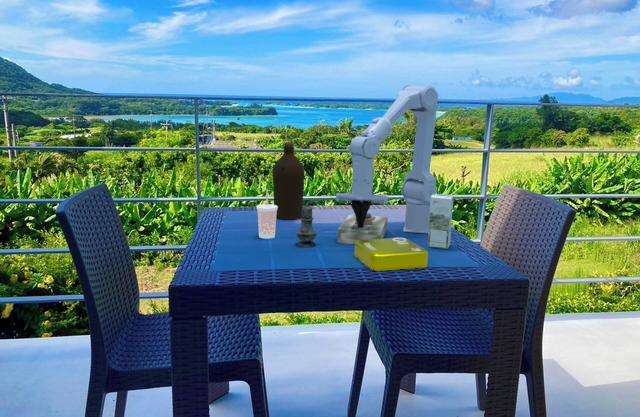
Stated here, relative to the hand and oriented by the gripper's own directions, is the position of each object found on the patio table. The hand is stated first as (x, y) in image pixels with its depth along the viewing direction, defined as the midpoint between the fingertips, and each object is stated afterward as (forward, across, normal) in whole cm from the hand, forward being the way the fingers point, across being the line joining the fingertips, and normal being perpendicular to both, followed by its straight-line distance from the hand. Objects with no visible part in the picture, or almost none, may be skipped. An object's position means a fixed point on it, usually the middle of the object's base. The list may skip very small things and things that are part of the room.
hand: (360, 227), depth 160 cm
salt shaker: (+4, -14, -8) cm, 17 cm away
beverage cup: (+4, -27, -2) cm, 27 cm away
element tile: (+5, +10, -16) cm, 20 cm away
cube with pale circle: (+4, 0, 0) cm, 4 cm away
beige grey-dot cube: (+2, 0, +6) cm, 7 cm away
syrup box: (+4, +22, +2) cm, 22 cm away
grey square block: (+4, 0, +6) cm, 8 cm away
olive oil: (+4, -28, +24) cm, 37 cm away
